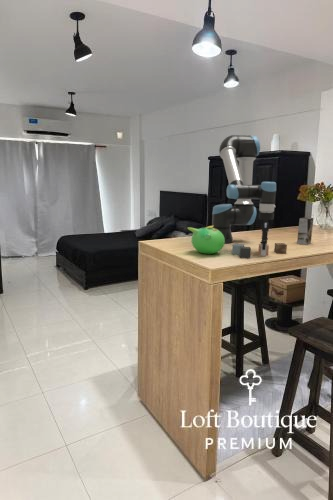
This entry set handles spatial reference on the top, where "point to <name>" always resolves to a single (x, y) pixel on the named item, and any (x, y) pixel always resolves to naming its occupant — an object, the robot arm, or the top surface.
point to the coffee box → (305, 231)
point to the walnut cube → (280, 248)
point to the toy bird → (207, 239)
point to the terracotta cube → (260, 249)
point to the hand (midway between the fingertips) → (263, 253)
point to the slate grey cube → (236, 248)
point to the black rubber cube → (245, 252)
